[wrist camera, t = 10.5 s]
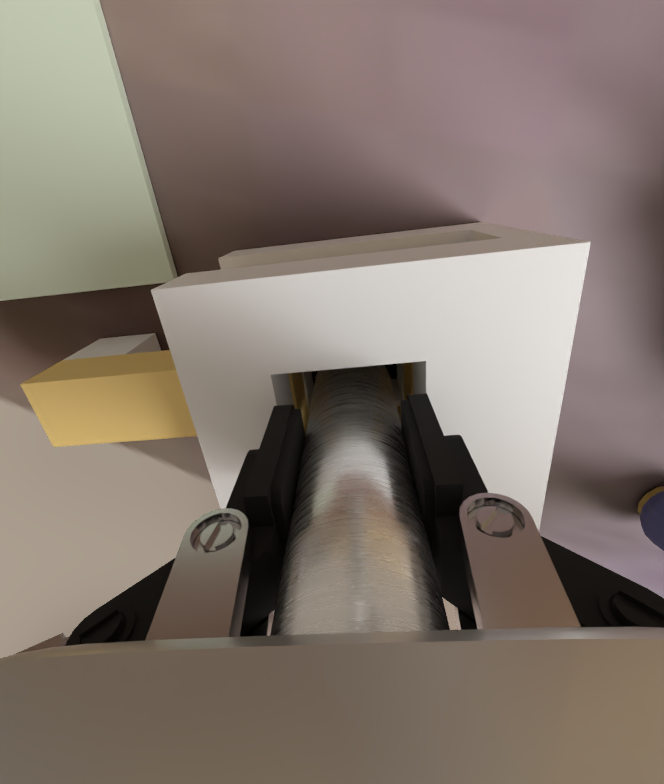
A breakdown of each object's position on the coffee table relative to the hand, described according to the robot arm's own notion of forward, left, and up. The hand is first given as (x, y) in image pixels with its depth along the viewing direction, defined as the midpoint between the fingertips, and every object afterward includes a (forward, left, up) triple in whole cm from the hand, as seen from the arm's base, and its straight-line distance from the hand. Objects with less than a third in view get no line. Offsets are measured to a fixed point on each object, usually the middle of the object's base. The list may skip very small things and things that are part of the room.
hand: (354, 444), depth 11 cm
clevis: (0, -3, -9) cm, 10 cm away
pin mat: (-10, -14, -9) cm, 20 cm away
